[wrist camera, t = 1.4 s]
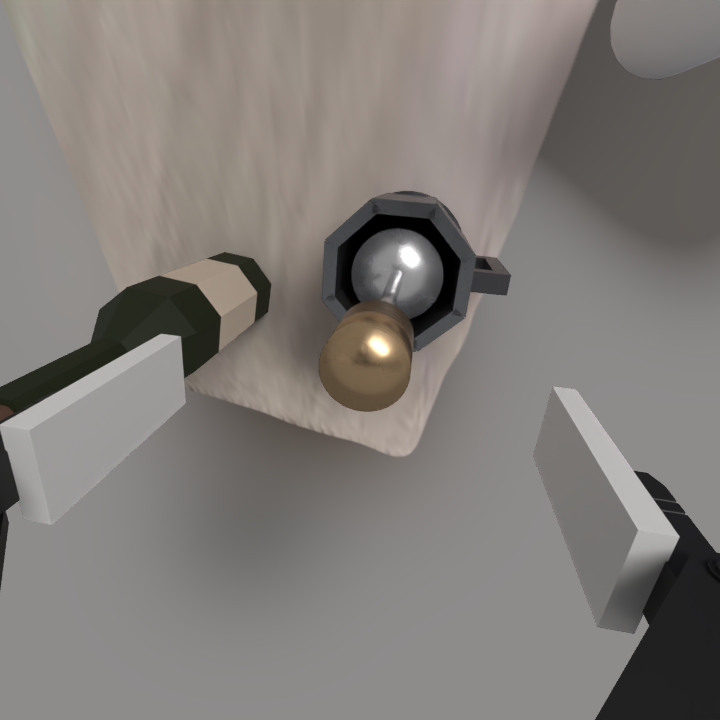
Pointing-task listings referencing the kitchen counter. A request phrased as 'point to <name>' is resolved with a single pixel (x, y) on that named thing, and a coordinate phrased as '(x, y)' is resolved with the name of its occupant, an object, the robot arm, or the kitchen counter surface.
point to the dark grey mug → (442, 231)
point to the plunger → (381, 320)
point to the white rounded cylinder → (665, 35)
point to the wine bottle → (159, 323)
